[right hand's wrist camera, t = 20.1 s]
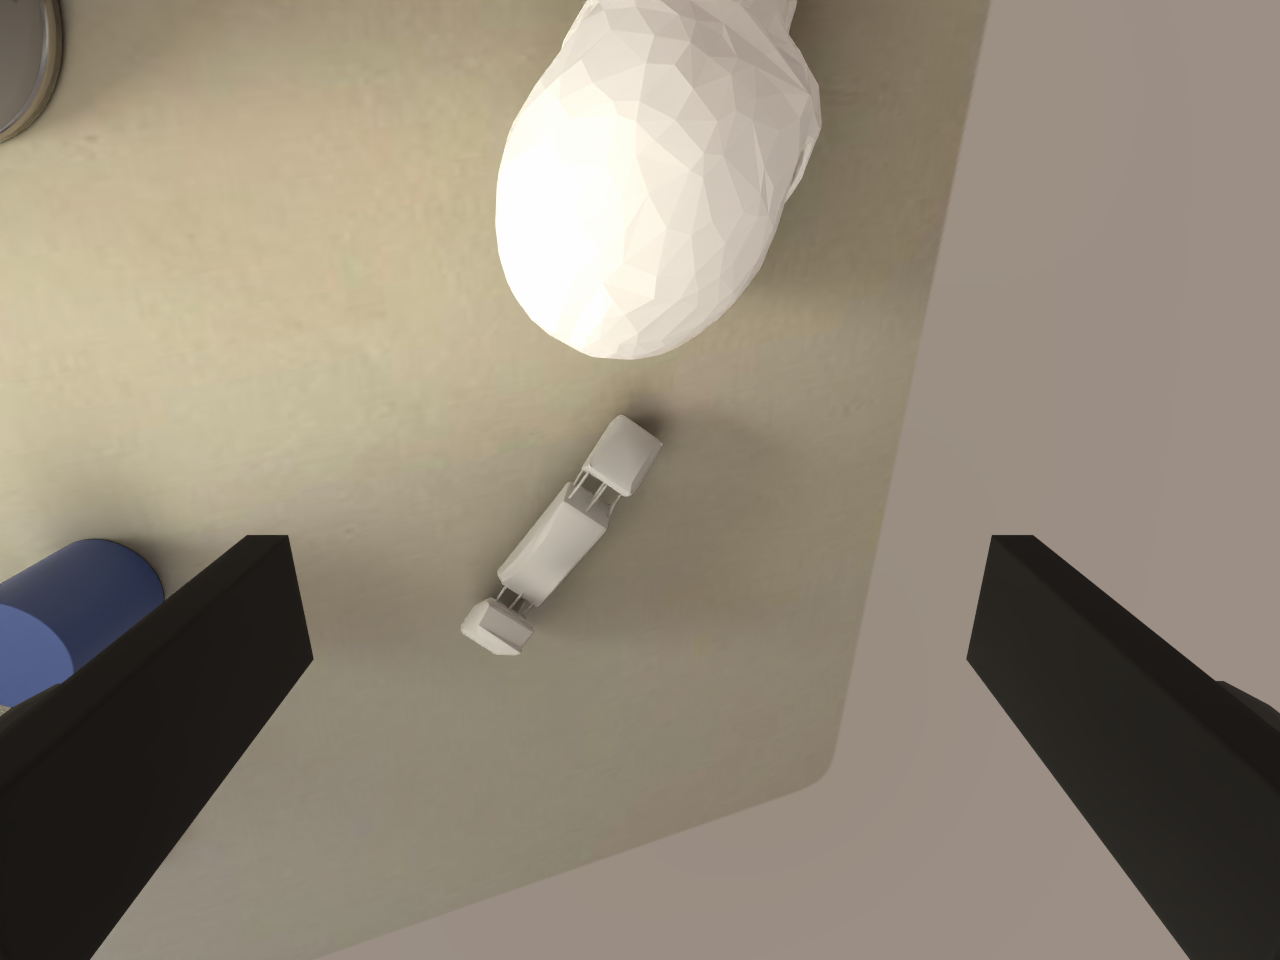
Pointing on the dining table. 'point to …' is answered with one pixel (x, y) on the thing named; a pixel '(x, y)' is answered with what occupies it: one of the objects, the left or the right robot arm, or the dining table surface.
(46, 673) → the can
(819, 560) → the dining table surface
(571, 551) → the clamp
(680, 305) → the skull
